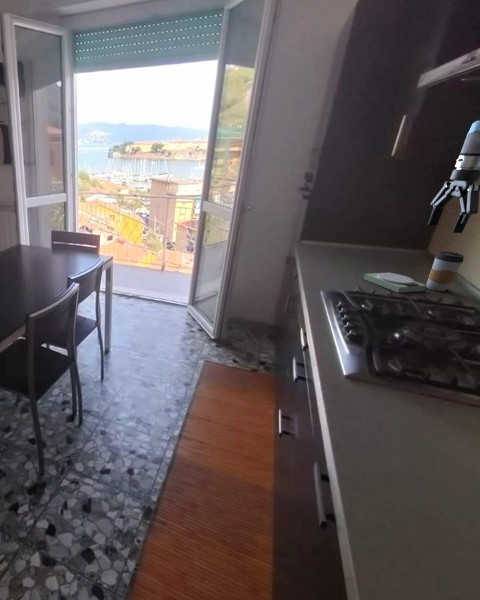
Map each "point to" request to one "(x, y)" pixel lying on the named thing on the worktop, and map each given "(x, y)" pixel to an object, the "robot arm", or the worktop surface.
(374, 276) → the kitchen scale
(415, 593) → the worktop surface
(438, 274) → the coffee cup
